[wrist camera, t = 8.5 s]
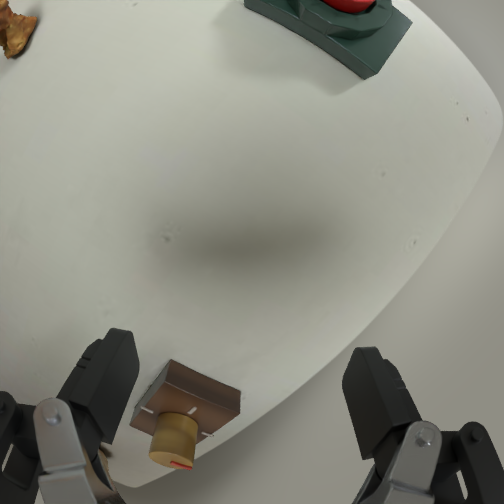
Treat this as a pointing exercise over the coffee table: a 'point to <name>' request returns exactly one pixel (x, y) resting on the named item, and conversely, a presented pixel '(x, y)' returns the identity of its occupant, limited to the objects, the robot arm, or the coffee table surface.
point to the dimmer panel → (187, 401)
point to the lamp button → (349, 5)
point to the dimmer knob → (174, 441)
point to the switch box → (342, 29)
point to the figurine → (14, 29)
